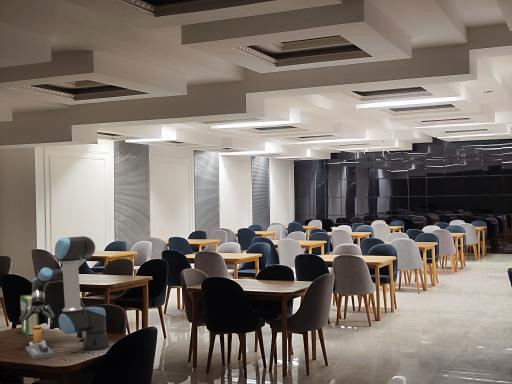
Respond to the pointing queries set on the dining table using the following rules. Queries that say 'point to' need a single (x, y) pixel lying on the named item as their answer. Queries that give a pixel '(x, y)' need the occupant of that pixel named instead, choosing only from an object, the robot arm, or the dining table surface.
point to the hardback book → (33, 318)
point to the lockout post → (37, 334)
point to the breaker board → (39, 350)
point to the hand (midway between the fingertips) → (36, 329)
